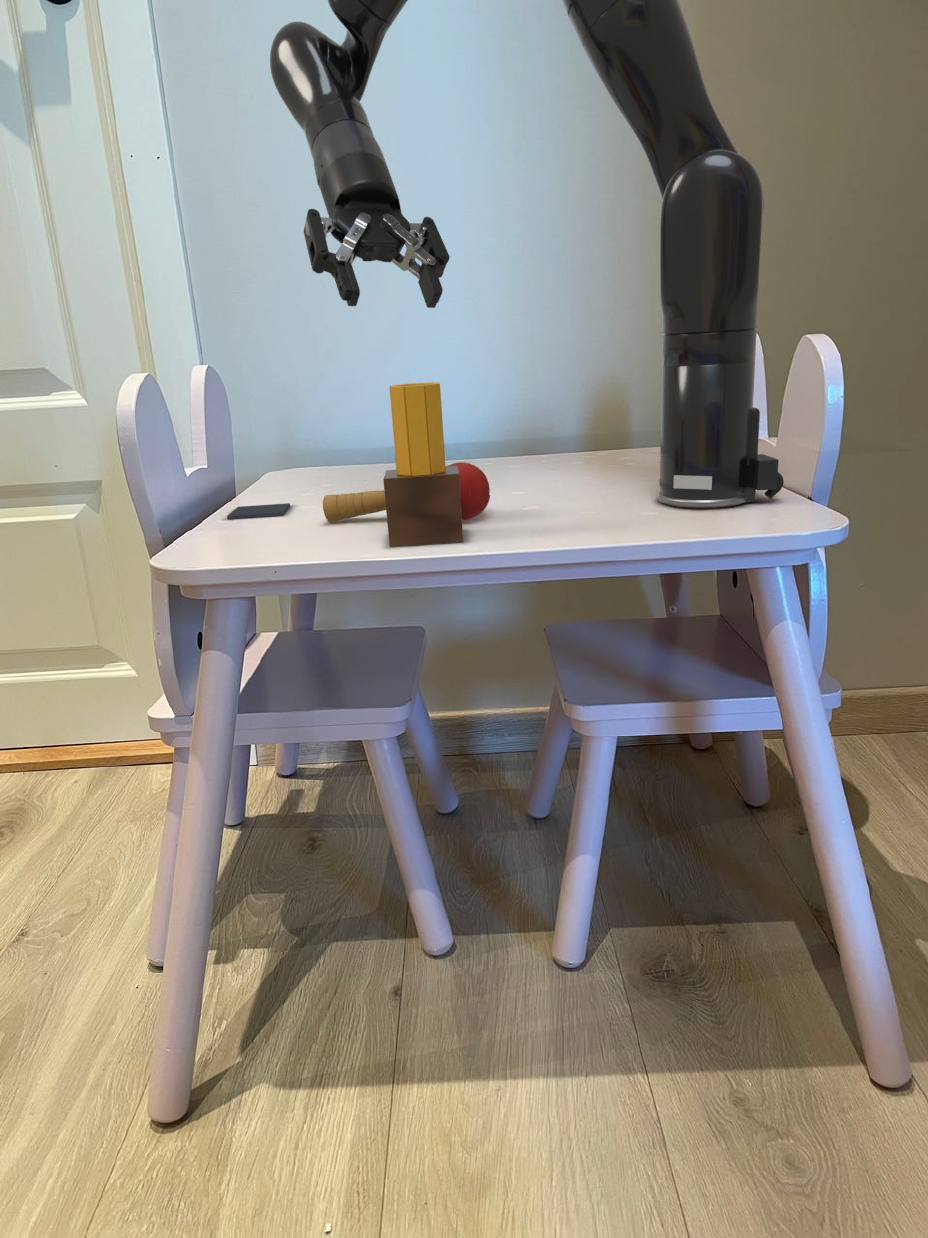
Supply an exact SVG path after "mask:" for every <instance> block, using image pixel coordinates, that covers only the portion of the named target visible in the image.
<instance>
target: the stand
mask: <svg viewBox="0 0 928 1238" xmlns="http://www.w3.org/2000/svg"><path fill="white" fill-rule="evenodd" d="M445 466H446V471H445V472H442V473H438V474H433V475H431V474H430V475H422V476H404V475H397V469H387V470H385V472H384V475H383V491H384V492H385V503H386V510H385V511H386V512H385V513H386V523H387V534H388V535H387V536H388V546H389V548H396V547H410V546H411V547H412V546H428V545H440V544H454V543H456V544H457V543H464V529H463V528H464V527H463V520H462V511H461V495H460V479H459V471H458V466H449V465H445Z"/></svg>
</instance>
